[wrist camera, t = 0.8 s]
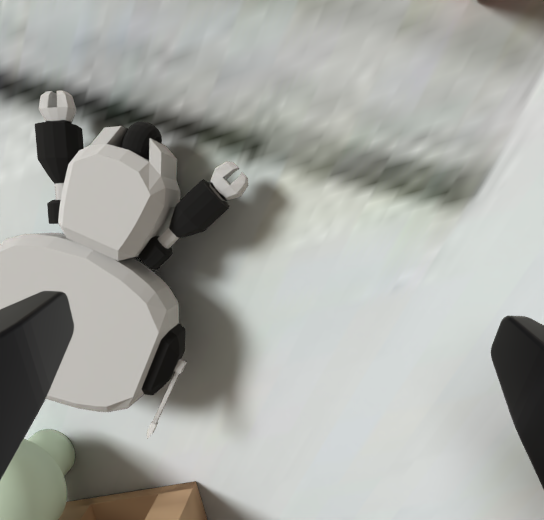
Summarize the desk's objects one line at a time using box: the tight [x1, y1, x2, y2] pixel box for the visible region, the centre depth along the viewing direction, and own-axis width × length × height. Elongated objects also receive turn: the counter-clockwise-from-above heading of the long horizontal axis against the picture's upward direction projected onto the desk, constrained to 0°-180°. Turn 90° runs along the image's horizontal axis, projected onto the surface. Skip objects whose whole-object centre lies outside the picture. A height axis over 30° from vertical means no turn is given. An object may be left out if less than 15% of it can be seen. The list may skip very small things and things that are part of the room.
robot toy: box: [0, 91, 248, 439], centre depth 22 cm, size 12×4×15 cm
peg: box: [0, 429, 75, 520], centre depth 23 cm, size 6×6×6 cm
